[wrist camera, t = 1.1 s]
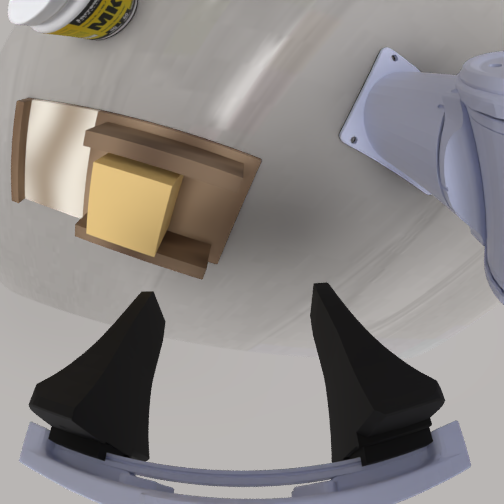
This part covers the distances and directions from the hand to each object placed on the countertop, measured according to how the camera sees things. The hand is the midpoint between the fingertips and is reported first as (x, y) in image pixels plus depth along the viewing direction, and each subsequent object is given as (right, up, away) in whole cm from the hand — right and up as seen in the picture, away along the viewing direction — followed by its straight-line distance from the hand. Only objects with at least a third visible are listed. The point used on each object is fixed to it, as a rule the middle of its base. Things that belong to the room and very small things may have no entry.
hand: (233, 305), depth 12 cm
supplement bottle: (-9, +19, -1) cm, 21 cm away
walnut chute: (-9, +8, +6) cm, 14 cm away
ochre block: (-7, +7, +6) cm, 11 cm away
